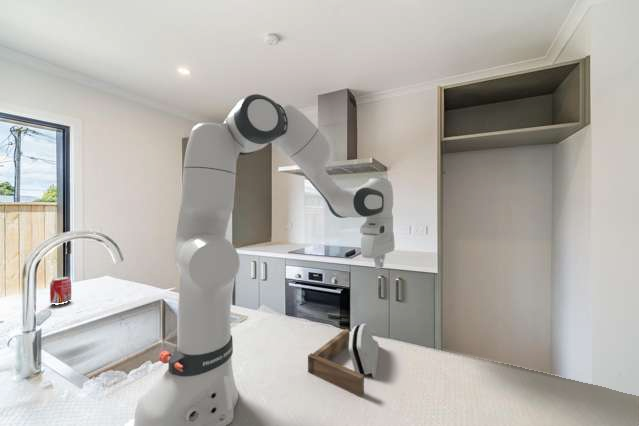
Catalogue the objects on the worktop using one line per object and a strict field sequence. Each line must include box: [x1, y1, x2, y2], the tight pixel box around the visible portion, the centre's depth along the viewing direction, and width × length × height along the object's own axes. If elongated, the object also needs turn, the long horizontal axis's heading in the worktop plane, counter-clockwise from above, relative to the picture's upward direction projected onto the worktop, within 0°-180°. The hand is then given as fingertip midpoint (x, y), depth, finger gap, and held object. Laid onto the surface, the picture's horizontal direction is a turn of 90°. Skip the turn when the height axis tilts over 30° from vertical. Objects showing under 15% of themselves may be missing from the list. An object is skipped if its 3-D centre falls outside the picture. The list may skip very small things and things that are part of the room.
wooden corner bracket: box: [307, 328, 365, 398], centre depth 73 cm, size 20×16×4 cm
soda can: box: [49, 276, 72, 304], centre depth 121 cm, size 7×7×12 cm
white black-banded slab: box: [348, 323, 380, 379], centre depth 76 cm, size 17×5×10 cm, turn 163°
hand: (379, 267), depth 86 cm, fingers closed
